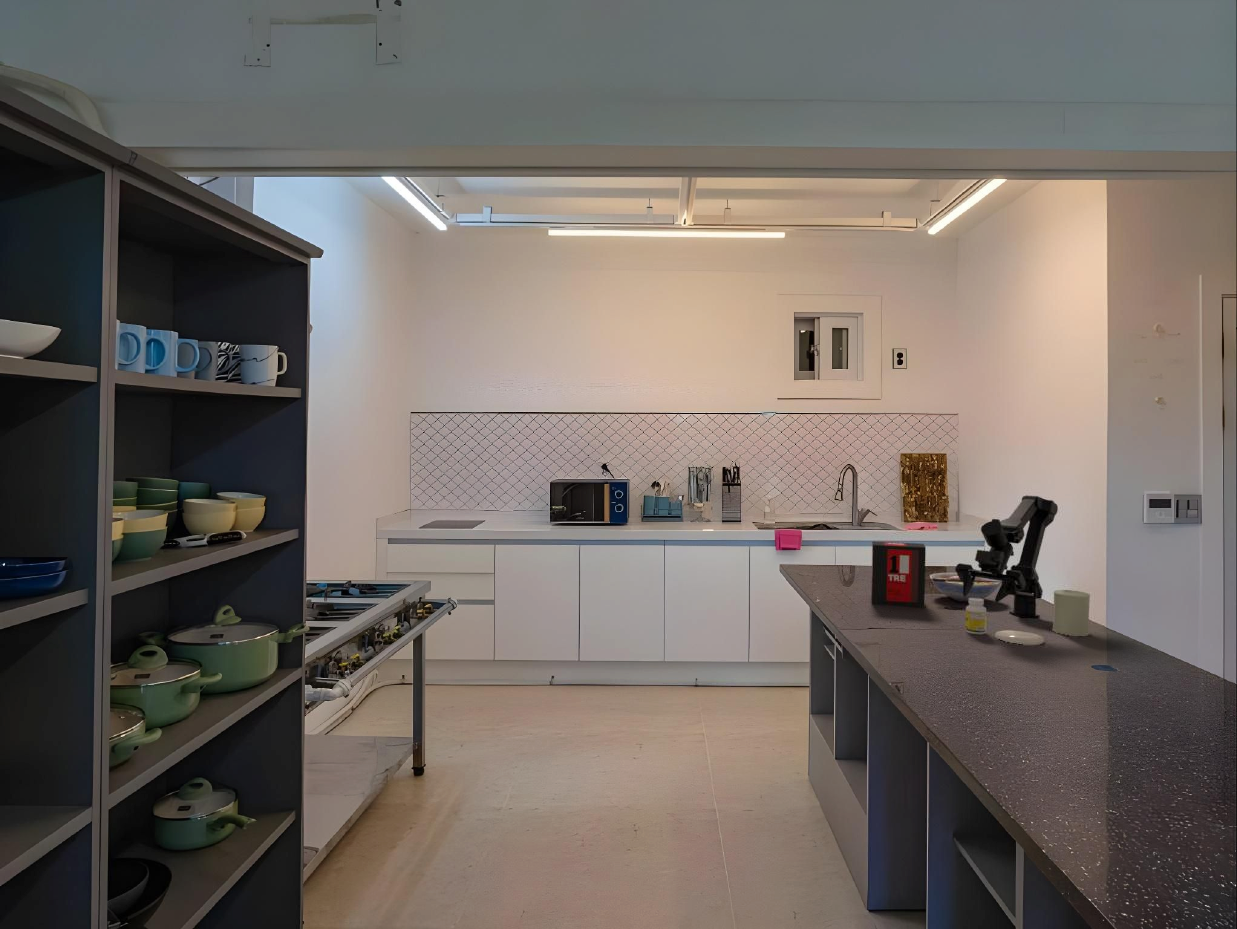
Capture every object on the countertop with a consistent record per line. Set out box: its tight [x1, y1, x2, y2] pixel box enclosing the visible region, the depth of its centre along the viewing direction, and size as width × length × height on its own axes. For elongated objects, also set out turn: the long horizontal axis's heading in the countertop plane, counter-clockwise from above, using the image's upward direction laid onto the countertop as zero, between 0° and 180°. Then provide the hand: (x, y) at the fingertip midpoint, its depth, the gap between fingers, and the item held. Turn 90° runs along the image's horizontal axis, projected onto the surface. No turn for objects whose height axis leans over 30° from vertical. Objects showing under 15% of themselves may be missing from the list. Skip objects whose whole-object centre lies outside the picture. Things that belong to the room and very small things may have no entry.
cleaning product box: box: [870, 541, 927, 608], centre depth 263 cm, size 16×9×20 cm, turn 73°
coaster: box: [994, 630, 1045, 646], centre depth 217 cm, size 12×12×1 cm
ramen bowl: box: [929, 572, 1002, 603], centre depth 270 cm, size 25×23×8 cm
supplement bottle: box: [965, 598, 987, 635], centre depth 225 cm, size 5×5×10 cm
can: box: [1051, 589, 1091, 637], centre depth 226 cm, size 9×9×12 cm
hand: (979, 598), depth 226 cm, fingers open, 9 cm apart
